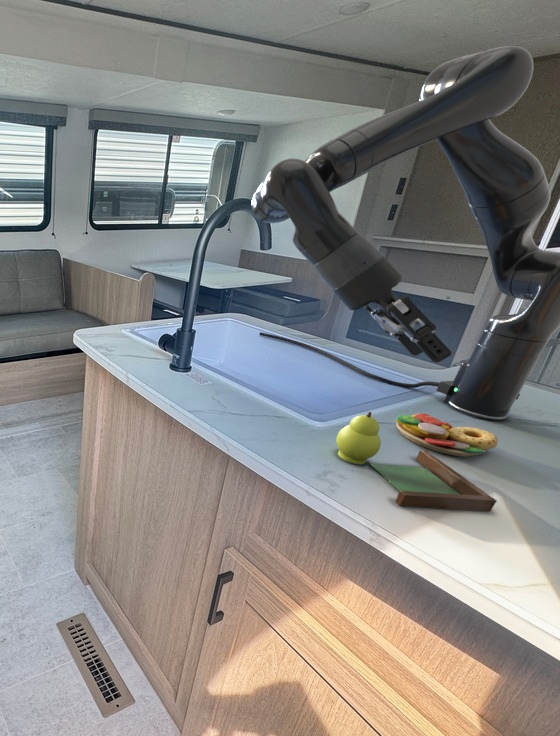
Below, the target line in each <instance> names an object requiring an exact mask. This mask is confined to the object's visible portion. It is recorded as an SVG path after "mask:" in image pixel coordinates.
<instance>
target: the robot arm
mask: <svg viewBox="0 0 560 736" xmlns="http://www.w3.org/2000/svg"><path fill="white" fill-rule="evenodd" d="M533 73H534V59H533V56H532V55H531V53H530V52H529V51H528V50H527V49H526V48H524V47H521V46H518V45H517V46H515V45H507V46H500V47H494V48H490V49H488V50H482V51H479V52H475V53H471V54H467V55H462V56H459V57H457V58H453V59H450V60H447V61H445V62H443V63H441V64H439V65H438V66H437V67H436V68H434V69H433V70H432V71H431V72H430V73H429V74H428V75H427V76H426V78H425V80H424V81H423V84H422V87H421V89H420V92H419V100H418V101H416V102H414V103H411V104H409V105H406V106H404V107H402V108H399V109H396V110H393V111H391V112H388V113H386V114H383V115H380V116H377V117H375V118H373V119H371V120H368V121H366V122H363V123H362V124H359V125H357V126H355V127H353V128H351V129H349V130H347V131H345V132H344V133H342V134H340V135H338V136H336V137H335V138H333V139H330V140H329V141H327V142H325V143H324V144H322V145H321V146H319V147H318V148H316V149H315V150H314V151H313V152H312V153H310V155H309V156H308V157H307V158H306V159H305V160H303V159H300V158H291V157H290V158H286V159H283V160H281V161H280V162H279V161H278V163H276V164H275V165H274V166H273V167H272V168H271V169H270V170H269V172H268V173H267V174H266V176H265V178H264V179H263V180H262V182H261V183H260V184H259V186H258V188H257V189H256V190H255V192H254V194H253V197H252V200H251V211H252V213H253V215H254V216H255V218H257V219H258V220H259V221H261V222H262V223H265V224H279V223H281V222H285V221H287V220H289V219H290V221H291V222H292V224H293V226H294V229H295V231H294V233H293V236H292V243H293V244H294V246H295V248H296V249H297V250H298V251H299V253H300V254H301V255H302V256H303V257H304V258H305V259H306V260H307V262H309V264H311V266H312V267H313V268H314V270H315V271H316V273H317V274H318V276H319V277H320V278H321V279H322V281H323V282H324V283H325V284H326V285H327V286H328V288H330V290H331V291H332V292H333V293H334V294H335V296H336V297H338V299H339V300H340V301H341V302H342V303H343V304H344V305H345V306H346V307H347V309H348V310H350V311H358V310H360V309H362V308H364V310H365V311H366V312H368V314H369V315H370V316H371V318H372V319H373V320H374V321H376V323H377V324H378V325H379V326H380V328H382V329H383V331H384V333H385V334H387V335H389V336H391V337H392V338H394V339H396V340H397V341H398V342H399V343H400V344H401V345H402V346H403V348H404V349H406V351H407V352H408V353H409V354H410V355H412V356H419V355H420V354H422V353H424V355H426V356H427V357H428V359H430V361H431V362H433V363H440V362H442V361H444V360H446V359H447V358H449V357H450V356H452V351H451V349H449V347H448V346H447V345H446V344H445V343H444V342H443V341H442V340H441V338H439V337H438V335H437V334H436V330H437V327H436V324H434V322H432V321H431V320H430V319H429V318H428V317H427V316H426V315H425V314H424V313H423V312H422V310H420V309H419V307H417V305H416V304H415V303H414V302H413V301H412V300H411V299H410V297H409V296H407V295H405V294H403V295H402V296H400V297H398V296H397V294H395V293H394V292H393V291H392V290H393V288H395V287H397V286H398V285H399V284H400V283H401V282H402V280H403V275H402V274H401V273H400V272H399V271H398V269H396V268H395V267H394V266H393V265H392V264H391V263H390V261H388V259H386V257H385V256H384V255H383V254H382V253H381V252H380V250H379V249H377V248H376V246H375V245H374V244H373V243H372V242H370V240H368V239H367V238H366V237H364V236H363V235H361V233H359V232H358V230H356V228H354V226H353V225H352V224H351V223H350V222H349V221H348V219H346V218H345V216H344V215H342V214H341V213H340V212H339V210H338V207H337V205H336V202H335V200H334V198H333V196H332V194H331V192H333V191H334V190H336V189H338V188H341V187H343V186H345V185H347V184H349V183H351V182H353V181H354V180H356V179H358V178H360V177H362V176H364V175H365V174H368V173H369V172H371V171H373V170H375V169H377V168H378V167H380V166H382V165H384V164H386V163H388V162H390V161H393V160H394V159H396V158H398V157H400V156H403V155H404V154H407V153H409V152H411V151H412V150H415V149H417V148H419V147H422V146H423V145H426V144H428V143H431V142H433V141H436V142H437V144H438V145H439V147H440V148H441V150H442V151H443V153H444V154H445V156H446V158H447V159H448V162H449V164H450V166H451V168H452V170H453V172H454V174H455V176H456V179H457V180H458V183H459V184H460V187H461V189H462V190H463V193H464V196H465V198H466V202H467V204H468V208H469V210H470V211H471V213H472V216H473V217H474V219H475V221H476V223H477V225H478V227H479V229H480V233H481V235H482V237H483V240H484V243H485V246H486V247H487V251H488V254H489V258H490V262H491V267H492V272H493V276H494V280H495V283H496V286H497V288H498V290H499V291H500V292H501V293H502V294H504V295H506V296H508V297H511V298H514V299H520V300H525V301H527V302H528V301H529V302H530V303H529V304H528V306H527V307H526V308H525V309H524V310H523V311H521V312H518V313H514V314H513V313H512V314H497V315H494V316H491V318H489V319H488V321H487V322H486V325H485V327H484V329H483V330H482V333H481V335H480V337H479V339H478V342H477V343H476V346H475V348H474V350H473V352H472V354H471V356H470V358H469V360H468V361H463V362H462V363H461V364H460V366H459V369H458V370H457V373H456V374H455V376H454V379H453V380H444V381H439V382H438V381H431V380H430V381H427V380H426V381H420V382H416V383H405V382H400V381H396V380H395V381H394V380H391V379H387V378H385V377H383V376H379V375H377V374H373V373H370V372H367V371H365V370H364V369H361V368H359V367H358V366H356V365H354V364H352V363H349V362H348V361H346V360H344V359H341V358H340V357H338V356H335V355H334V354H331V353H329V352H327V351H325V350H323V349H320V348H318V347H315V346H313V345H310V344H307V343H304V342H300V341H298V340H294V339H290V338H286V337H284V336H279V335H275V334H270V333H265V332H259V336H262V337H267V338H271V339H275V340H279V341H283V342H287V343H290V344H294V345H296V346H300V347H303V348H306V349H309V350H312V351H314V352H316V353H319V354H321V355H323V356H325V357H327V358H330V359H332V360H334V361H336V362H337V363H339V364H341V365H344V366H345V367H348V368H349V369H351V370H353V371H355V372H357V373H358V374H361V375H363V376H365V377H367V378H371V379H374V380H376V381H379V382H382V383H386V384H388V385H392V386H397V387H400V388H406V389H407V388H409V389H416V388H419V387H424V386H430V387H431V386H432V387H436V390H435V391H436V392H438V393H441V394H443V395H445V398H444V399H443V402H444V403H446V404H447V405H448V406H450V407H451V408H453V409H454V410H457V411H458V412H460V413H463V414H466V415H469V416H472V417H476V418H480V419H483V420H489V421H504V420H506V418H507V417H508V414H509V413H510V411H511V408H512V407H513V405H514V403H515V402H516V400H517V401H518V400H519V397H520V396H521V394H520V393H521V391H522V389H523V388H524V385H525V384H526V382H527V380H528V379H529V376H530V375H531V374H532V371H533V370H534V368H535V366H536V365H537V363H538V361H539V359H540V357H541V355H542V353H543V351H544V350H545V348H546V346H547V345H548V344H549V341H550V339H551V338H552V337H553V335H554V333H555V332H556V331H558V329H559V328H560V251H554V250H553V251H552V250H544V249H541V248H540V247H538V245H536V243H535V241H534V240H535V239H534V238H533V235H532V229H533V228H534V226H535V225H536V224H537V222H539V220H540V219H541V217H542V216H543V215H544V213H545V212H546V210H547V208H548V207H549V204H550V201H551V187H550V185H549V182H548V179H547V176H546V173H545V170H544V167H543V164H541V162H540V160H539V159H538V158H537V157H536V155H534V154H533V153H532V152H531V151H530V150H528V149H526V148H525V147H524V146H523V145H521V144H520V143H518V142H517V141H515V140H513V139H512V138H511V137H509V136H507V135H506V134H504V133H503V132H502V131H500V130H499V129H498V128H497V126H495V124H493V122H492V121H491V119H493V118H496V117H497V116H501V115H502V114H504V113H505V112H507V111H508V110H509V109H511V108H512V107H513V106H515V105H516V104H517V103H518V101H519V100H520V99H521V98H522V97H523V95H524V94H525V92H526V91H527V90H528V87H529V85H530V83H531V80H532V78H533V75H534V74H533ZM416 326H419V328H418V329H414V327H416Z"/></svg>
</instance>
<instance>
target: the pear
mask: <svg viewBox="0 0 560 736" xmlns="http://www.w3.org/2000/svg"><path fill="white" fill-rule="evenodd" d="M379 432H380V423H379V421H378V420H377V419H376V418H374V417H373V416H372V411H367V414H359V415H356V416H355V417H353V418H351V420H350V421H349V424H348V425H345V426H344V427H342V428H341V429H340V430H339V431H338V433H337V435H336V440H335V441H336V446H337V448H338V449H339V450H338V452H337V455H338V457H339V458H341V459H342V460H343V461H345V462H347V463H350V464H354V465H364V464H366V462H367V460H368V459H371V458H373V457H375V456H376V455H377V454H378V452H379V451H380V449H381V447H382V446H381V445H382V441H381V437H380V435H379Z"/></svg>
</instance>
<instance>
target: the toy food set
mask: <svg viewBox="0 0 560 736" xmlns="http://www.w3.org/2000/svg"><path fill="white" fill-rule="evenodd" d="M395 422H396V427H397V428H398V430H399V432H400V433H401V434H402V435H403V436H404V437H405V438H406V439H408V440H409V441H411V442H413V443H415V444H416V445H419V446H421V447H423V448H426V449H429V450H431V451H435V452H438V453H441V454H445V455H449V456H455V457H473V456H474V457H475V456H477V455H481V454H484V453H485V452H486V450H491V449H495V448H496V447H497V445H498V442H499V439H498V437H497V436H496V435H495V434H494V433H492V432H490V431H487V430H484V429H481V428H478V427H470V426H458V427H455V426H452V425H451V424H450V423H448V422H445V421H441V420H440V419H438V418H436V417H434V416H431V415H430V414H427V413H416V414H412V415H408V414H398V415H397V417H396V420H395Z"/></svg>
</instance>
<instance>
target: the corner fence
mask: <svg viewBox="0 0 560 736" xmlns="http://www.w3.org/2000/svg"><path fill="white" fill-rule="evenodd" d="M415 461H417V462H418V463H420V464H421V465H422V466H413V465H397V464H383V463H382V464H380V463H369V466H370V467H371V468H372V469H374V470H375V472H377V473H378V474H379V475H380V476H382V478H384V480H386V481H387V482H388V483H389V484H390V485H392V486H393V487H394V488H395V489H396V490H397V491H398V492H399V493H398V494H397V497H396V499H395V503H396V504H397V505H398V506H399V507H411V508H412V507H413V508H428V509H441V510H442V509H443V510H456V511H457V510H459V511H473V512H474V511H476V512H491V511H492V509H493V508H494V506H495V505H496V503H497V502H498V500H497V499H495V498H494V497H493V496H491V495H489V494H488V493H486V491H485V490H482V489H481V488H480V487H478V486H477V485H476V484H474V483H473V482H472V481H470V480H469V479H467V478H466V477H465V476H463V475H462V474H460V473H459V472H457V471H456V470H454V469H453V468H452V467H450V466H449V465H447V464H446V463H444V462H443V461H442V460H440V459H439V458H437V457H436V456H435V455H433V454H432V453H431V452H429V451H428V450H427V449H426V450H425V449H419V452H418V454H417V455H416V458H415Z"/></svg>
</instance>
